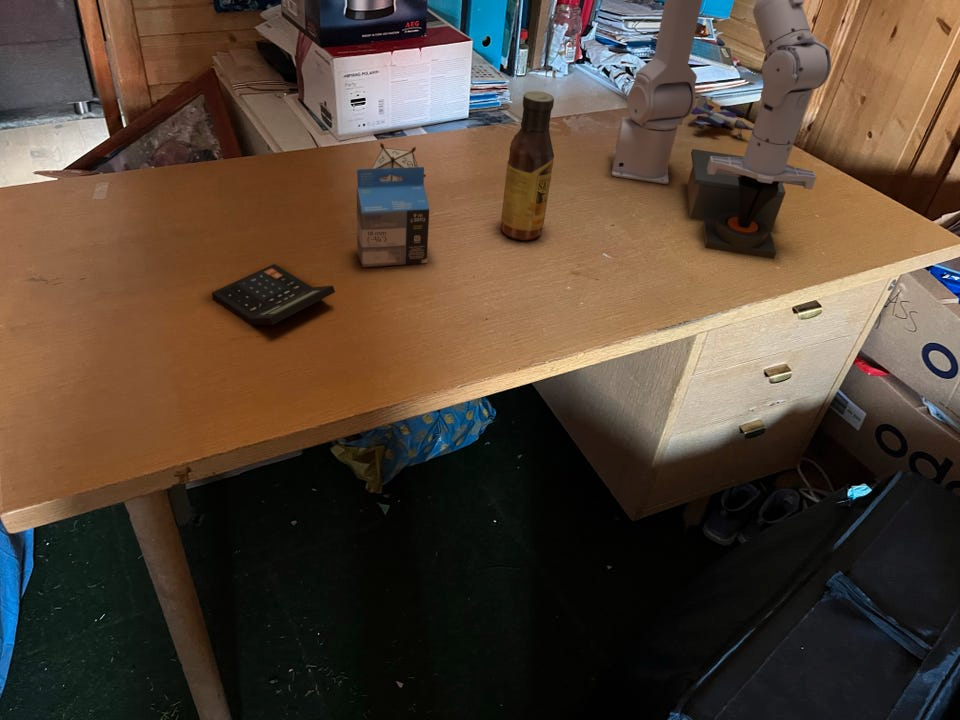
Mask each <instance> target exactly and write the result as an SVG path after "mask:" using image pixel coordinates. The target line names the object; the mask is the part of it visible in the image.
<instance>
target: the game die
mask: <svg viewBox="0 0 960 720" xmlns="http://www.w3.org/2000/svg"><path fill="white" fill-rule="evenodd" d="M379 143H380V144H379V146H380V148H381V150H380V152H379V154H378V155H377V157H376V159H375V161H374V163H373V165H372V166H371V168H370V169H376V168H409V167H419V164H418V162H417V159H416V157H415V153H414V152H415V151H416V150H417V147H416V146H414V147H412V148H411V150H405V149H398V148H389V147H385V145H384V143H382V142H379ZM426 177H427V175H426V173H424V178H426ZM401 180H402V177H394V175H392V174H390V175H389V176H388V177H382V178H380V181H401Z"/></svg>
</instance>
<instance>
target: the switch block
mask: <svg viewBox="0 0 960 720" xmlns="http://www.w3.org/2000/svg"><path fill="white" fill-rule="evenodd" d="M732 217H739V213H735V212H733V213H724V214H722V215H721V216H720V217H718V218H717V221H712V220H706V219H704V221H702V225H701V228H702V235H703V244H704V249H709V250H715V251H721V252H726V253H733V254H740V255H747V256H752V257H758V258H765V259H771V260H774V259H775V257H776V253H777V251H776V246H775V243H774V240H773V239H774V238H773V236H772V231H770V229H768V228H767V225H766V224H764V223H763V222H762V221H761V220H759V219H757V218H754V219H753V222H755V223H756V224H757V225H758V230H757V232H756V233H749V234H748V233H742V232H738V231H736V230H733V229H731V228H730V227H729V226H728V225H727V222H728V220H729V219H730V218H732Z"/></svg>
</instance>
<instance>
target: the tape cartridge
mask: <svg viewBox="0 0 960 720" xmlns="http://www.w3.org/2000/svg"><path fill="white" fill-rule="evenodd" d="M390 174H392V175H394V177H402V180H401V181H380V178H382V177H388V176H389V175H390ZM424 174H425V166H418V167H409V168H376V169H371V168H357V170H356V176H357V178H356V179H357V187H356V246H357V247H356V248H357V249H356V250H357V251H356V252H357V257H358V258H359V261H360V264H361V267H362V268H374V267H385V266H401V265H414V264H415V265H416V264H426V263H427V262H428V249H429V247H428V245H429V226H430V205H429V201H428V197H427V193H426V187H425V177H424Z"/></svg>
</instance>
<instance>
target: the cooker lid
mask: <svg viewBox="0 0 960 720" xmlns="http://www.w3.org/2000/svg"><path fill="white" fill-rule="evenodd" d="M710 156H715V157H744V156H743V155H737V154H729V153H724V152H723V153H722V152H715V151H709V150H702V149H695V148H692V149H691V152H690V157H691V164H692V166H693V173H694V182H695V184H699V185H706V186H712V187H719V188H726V189H732V190H739V182H738V176H731V175H724V174H718V173H716V174H715V175H712V174H708V172H707V166H708V163H709V159H710ZM778 188H779V190H778V193H777V194H776V196H779V197H784V198H785V196H786V193H787V192H786V190H785V189H786V188H785V187H784V183H779V184H778Z"/></svg>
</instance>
